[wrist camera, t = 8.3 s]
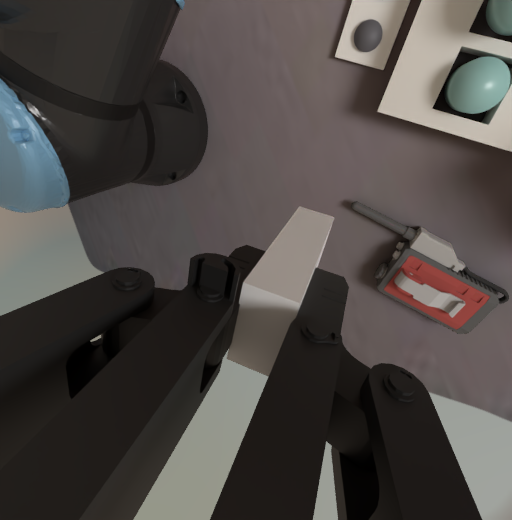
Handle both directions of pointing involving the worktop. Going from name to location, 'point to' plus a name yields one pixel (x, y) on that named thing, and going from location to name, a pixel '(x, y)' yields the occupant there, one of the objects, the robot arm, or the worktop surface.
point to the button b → (500, 16)
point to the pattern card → (371, 31)
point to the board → (446, 72)
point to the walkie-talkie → (433, 278)
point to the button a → (477, 85)
